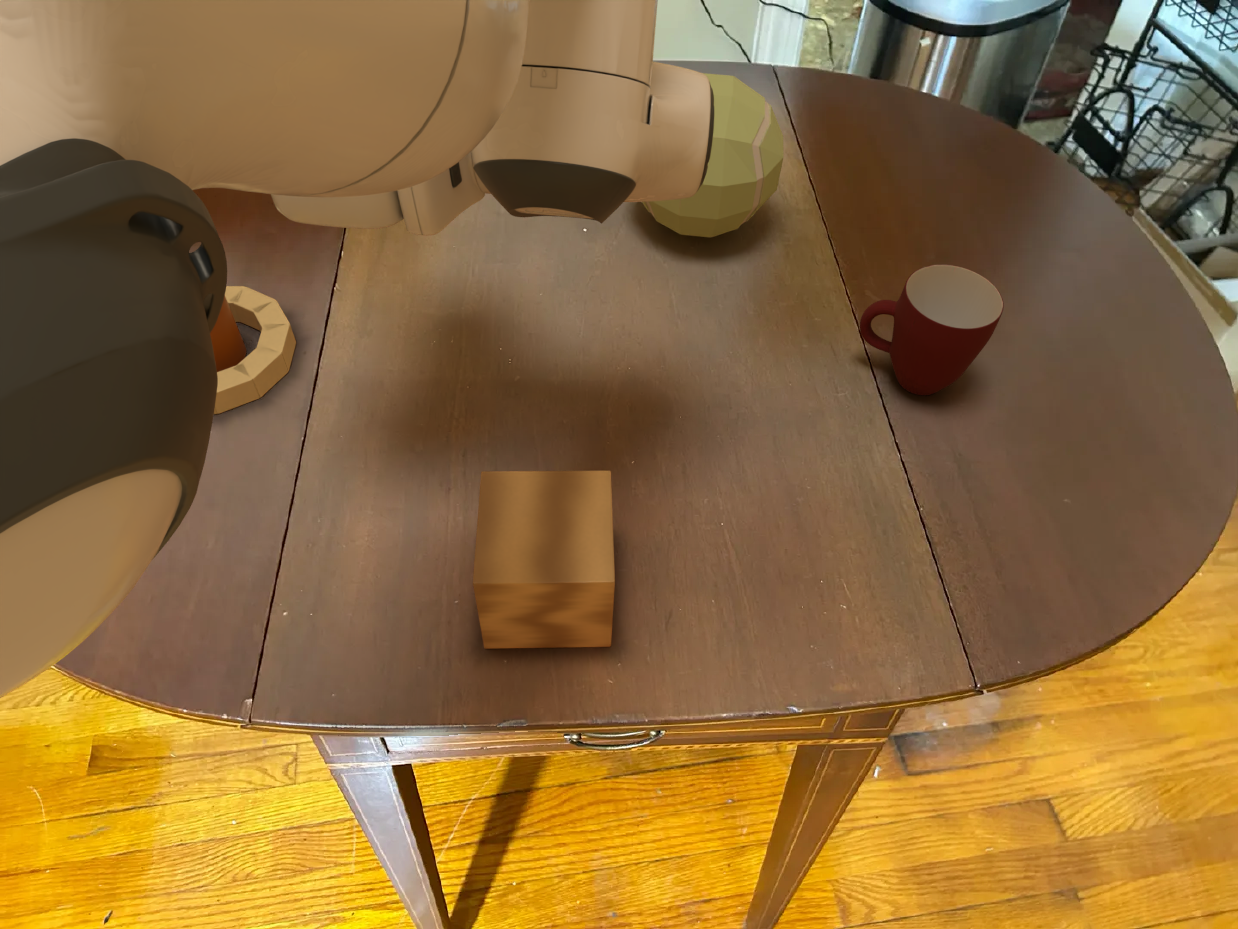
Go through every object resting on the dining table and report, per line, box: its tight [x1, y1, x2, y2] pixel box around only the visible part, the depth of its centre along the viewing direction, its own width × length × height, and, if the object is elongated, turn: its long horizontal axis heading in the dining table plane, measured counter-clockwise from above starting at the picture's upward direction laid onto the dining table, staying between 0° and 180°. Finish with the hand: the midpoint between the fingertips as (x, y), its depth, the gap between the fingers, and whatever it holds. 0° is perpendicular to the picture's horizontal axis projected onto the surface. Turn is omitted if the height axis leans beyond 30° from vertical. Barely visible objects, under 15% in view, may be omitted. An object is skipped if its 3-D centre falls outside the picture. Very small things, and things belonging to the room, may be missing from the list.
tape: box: [214, 285, 297, 415], centre depth 80 cm, size 14×14×2 cm
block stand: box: [472, 470, 616, 649], centre depth 64 cm, size 9×9×9 cm
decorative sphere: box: [641, 72, 785, 238], centre depth 90 cm, size 15×15×15 cm
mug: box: [859, 263, 1005, 396], centre depth 79 cm, size 10×8×10 cm
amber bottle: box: [210, 296, 247, 372], centre depth 78 cm, size 5×5×9 cm
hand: (256, 106), depth 60 cm, fingers open, 8 cm apart
